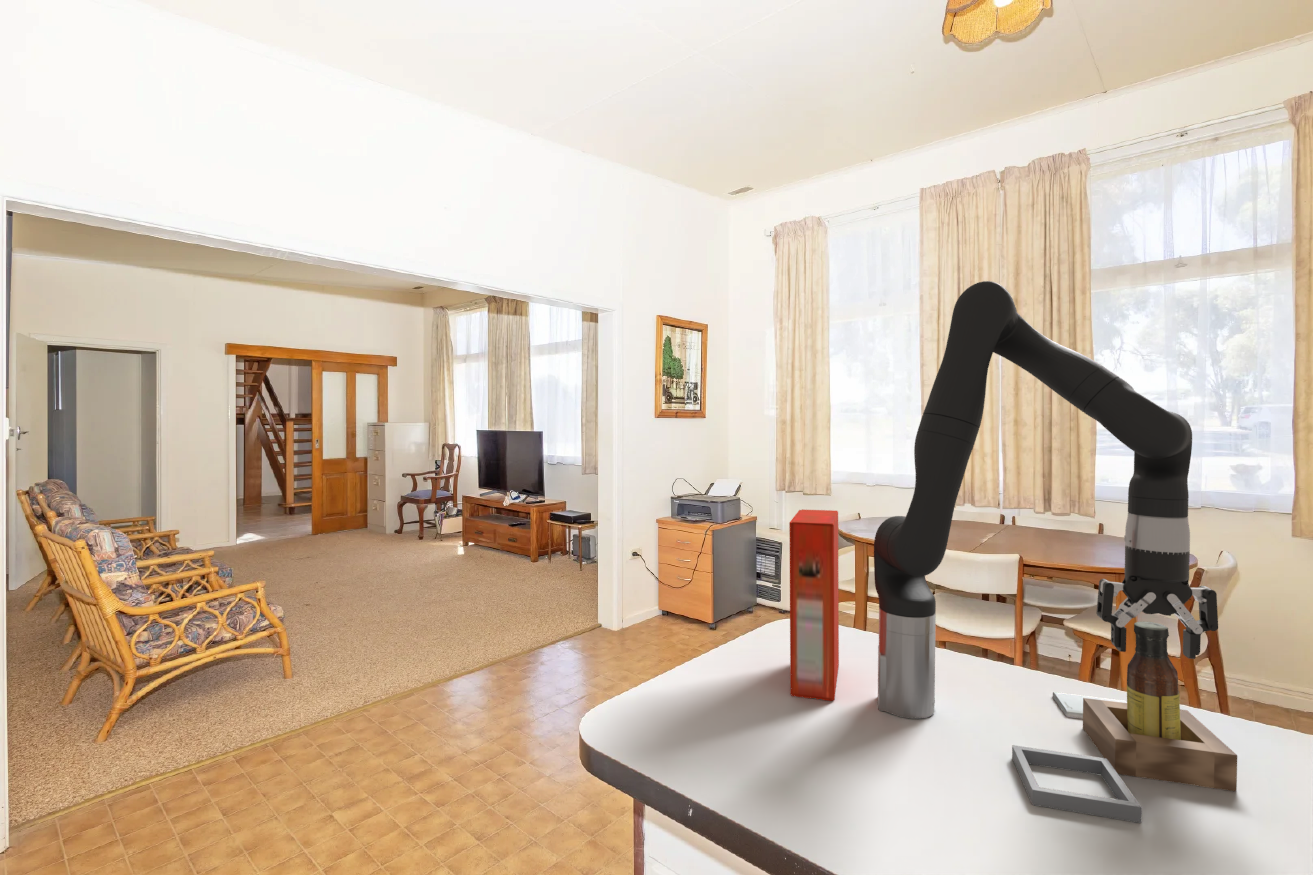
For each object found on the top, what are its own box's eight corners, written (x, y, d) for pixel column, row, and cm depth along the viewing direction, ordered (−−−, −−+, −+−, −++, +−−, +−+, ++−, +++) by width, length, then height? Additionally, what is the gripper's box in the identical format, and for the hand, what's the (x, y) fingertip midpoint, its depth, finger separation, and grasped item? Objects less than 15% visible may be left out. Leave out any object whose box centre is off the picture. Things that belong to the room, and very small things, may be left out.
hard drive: (1066, 710, 107) (1153, 720, 103) (1052, 690, 115) (1133, 699, 111) (1066, 720, 107) (1153, 730, 103) (1052, 699, 115) (1133, 708, 111)
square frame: (1032, 804, 83) (1032, 789, 82) (1012, 758, 94) (1012, 744, 94) (1141, 822, 79) (1141, 807, 79) (1106, 772, 90) (1106, 758, 90)
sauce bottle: (1173, 751, 96) (1175, 622, 95) (1187, 772, 90) (1189, 634, 90) (1120, 742, 98) (1123, 616, 98) (1130, 762, 93) (1133, 628, 92)
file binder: (788, 695, 115) (789, 521, 115) (798, 661, 132) (799, 509, 131) (834, 701, 113) (835, 523, 112) (838, 666, 129) (839, 510, 128)
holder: (1114, 773, 90) (1115, 738, 90) (1082, 728, 103) (1083, 697, 103) (1236, 791, 85) (1237, 755, 85) (1186, 741, 99) (1187, 710, 99)
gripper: (1109, 547, 92) (1107, 656, 93) (1229, 553, 88) (1227, 668, 88) (1092, 538, 99) (1090, 640, 100) (1202, 543, 95) (1200, 650, 95)
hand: (1154, 653), depth 94 cm, fingers open, 8 cm apart
